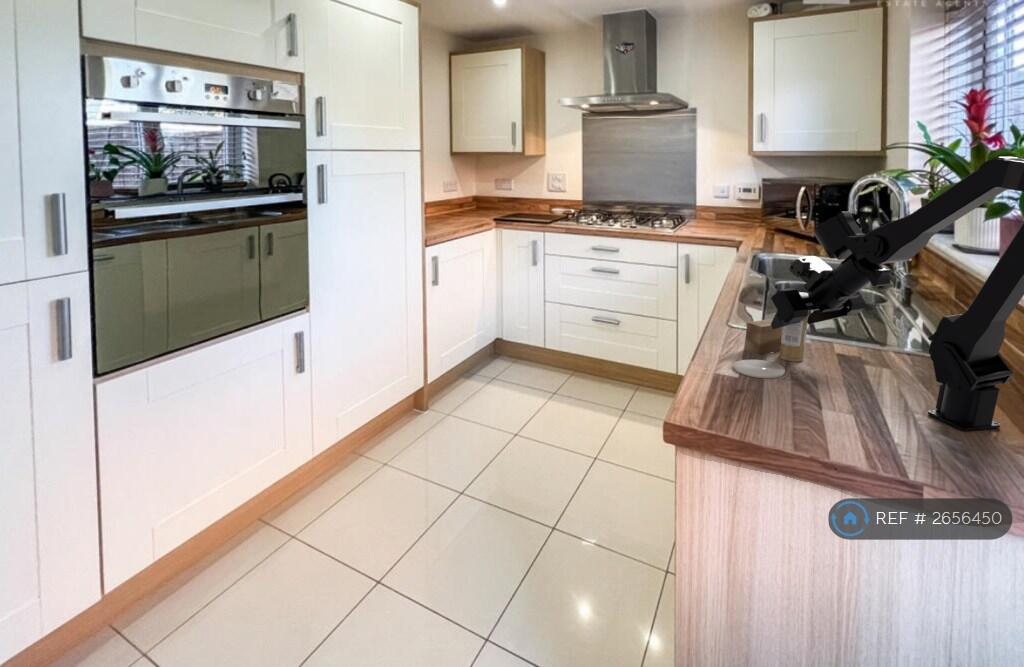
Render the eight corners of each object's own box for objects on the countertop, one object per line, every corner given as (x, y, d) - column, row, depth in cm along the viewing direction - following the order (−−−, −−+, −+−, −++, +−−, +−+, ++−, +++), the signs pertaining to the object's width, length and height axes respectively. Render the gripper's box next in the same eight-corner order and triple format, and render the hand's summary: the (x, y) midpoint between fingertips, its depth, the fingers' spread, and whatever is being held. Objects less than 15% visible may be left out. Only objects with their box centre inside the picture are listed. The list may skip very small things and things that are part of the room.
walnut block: (788, 350, 123) (791, 322, 122) (758, 354, 120) (761, 326, 119) (773, 345, 127) (776, 318, 125) (744, 349, 124) (747, 322, 122)
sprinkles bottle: (807, 359, 117) (816, 293, 113) (794, 363, 115) (803, 296, 111) (786, 353, 121) (794, 290, 117) (773, 358, 118) (781, 292, 115)
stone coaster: (794, 376, 108) (795, 373, 108) (749, 379, 107) (750, 376, 106) (767, 361, 116) (767, 358, 116) (724, 364, 115) (725, 361, 115)
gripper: (860, 240, 111) (805, 287, 124) (785, 246, 104) (735, 295, 117) (893, 289, 106) (832, 332, 119) (815, 298, 99) (760, 343, 112)
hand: (790, 324), depth 117 cm, fingers open, 9 cm apart
